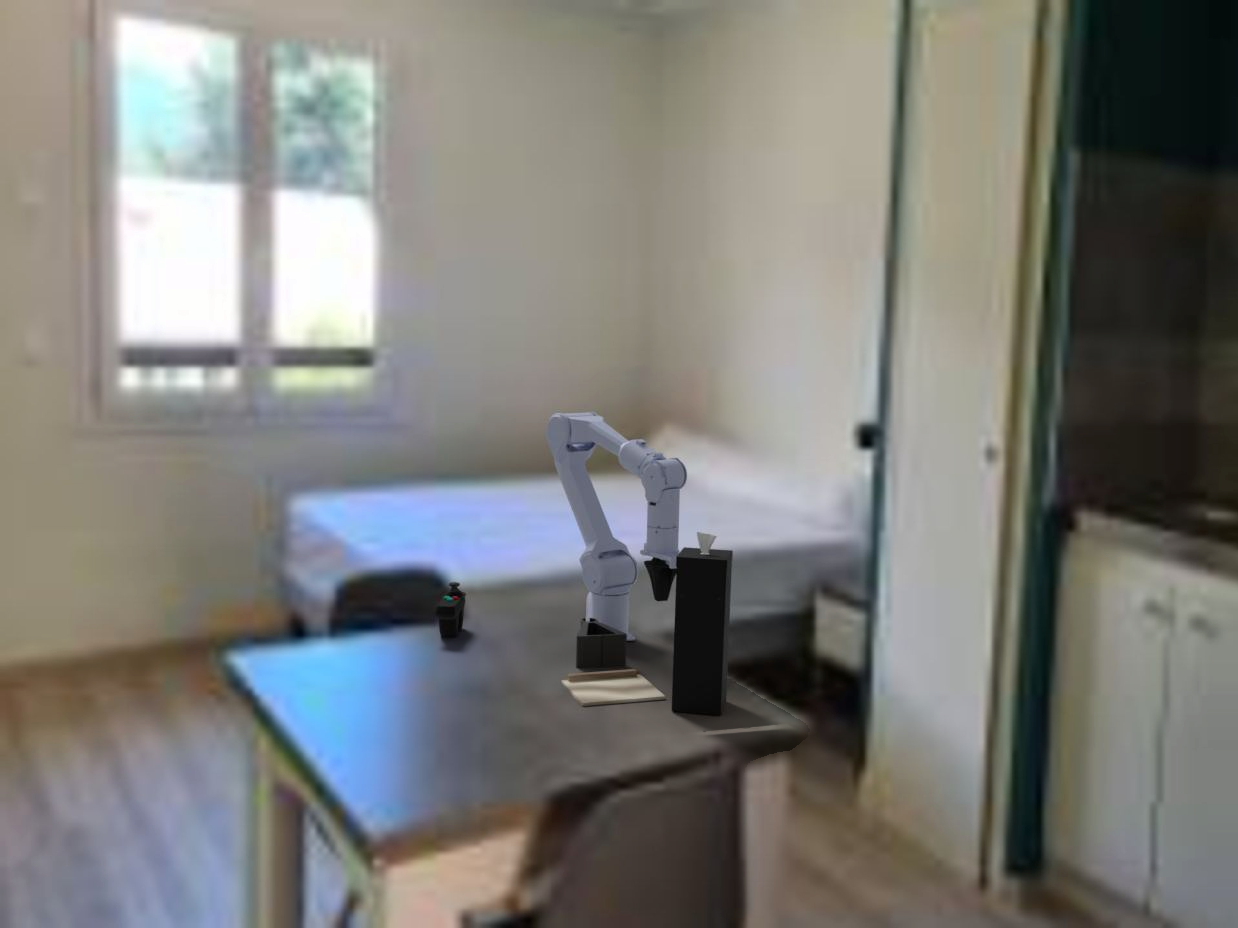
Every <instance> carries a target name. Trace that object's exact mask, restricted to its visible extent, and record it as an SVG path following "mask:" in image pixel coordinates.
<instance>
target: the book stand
mask: <svg viewBox="0 0 1238 928" xmlns="http://www.w3.org/2000/svg"><path fill="white" fill-rule="evenodd" d="M561 684H562V685H563V686H564V687H565V688H566V689H567V691H568V692H569V693H570V694H571V695H572V696H573V697H574V699H575V700H576V701H577V702H578V703H579V704H580V705H581V707H586V706H587V707H588V706H598V705H599V706H601V705H610V704H611V705H612V704H624V703H636V702H637V703H638V702H646V701H647V702H648V701H650V702H651V701H660V700H661V701H662V700H666V696H665V694H664V693H662V692H661V691H660V690H659V689H658V688H656V687H655V686H654V684H652V683H651V682H650V681H649V680H647V678H645V676H643V675H642V674H640V673H639V674H638V670H637V669H636V668H633V669H632V668H630V669H629V668H628V669H617V670H604V671H603V670H602V671H592V672H589V671H588V672H578V673H577V672H574V673H567V677H566V679H561Z"/></svg>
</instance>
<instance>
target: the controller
mask: <svg viewBox="0 0 1238 928" xmlns="http://www.w3.org/2000/svg"><path fill="white" fill-rule="evenodd" d="M460 585H461V583H459V582H455V581H453V582H449V583H448V586H449V587H450V589H448V590H447V591H446V592H445V593H443V595H442V596H441V597H440V598H441V600H440V601H439V602H438V604H437V605H436V608H435V611H434V615H435V616H436V617H438V628H439V634H440V636H441V637H442V638H457V637H459V636H460V634H461V632H462V631H463V625H464V616H465V615H464V611H465V606H466V596H467V593H466V592H463V591H461V589H459V588H458V587H460Z"/></svg>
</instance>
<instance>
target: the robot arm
mask: <svg viewBox="0 0 1238 928" xmlns="http://www.w3.org/2000/svg"><path fill="white" fill-rule="evenodd" d="M544 436H545V439H546V441H547V444H548V446H549V449H550V452H551V455H552V457H553V460H554V466H555V468H556V469H555V470H556V472H557V474H558V477H559V480H560V482H561V485H562V488H563V490H564V492H565V495H566V498H567V501H568V503H569V506H570V508H571V511H572V513H573V516H574V518H575V521H576V523H577V526H578V529H579V531H580V534H581V537H582V539H583V542H584V544H585V546H586V548H585V549H584V550H583V552H582V554H581V555H580V557H579V559H578V560H579V563H580V565H581V571H582V572H581V573H582V580H583V583H584V585H585V586H586V588H587V592H588V594H587V596H586V603H585V604H586V605H585V607H586V608H585V610H586V611H585V613H586V614H585V618H586V621H587V622H590V618H595V619H597V621H598V622H600V623H602V624H605V625H607V626H610V627H612V628H614V629H617V630H619V631H621V632H624V633H626V634H627V642H628V641H629V642H630V641H635V640H636V637H635V636H633V635H632V634H631V632H629V606H630V604H629V603H630V591H632V590H633V585H635V583H637V581H638V578H639V574H640V573H639V568H640V567H639V565H638V562H637V559H635V557H634V556H633V555H632V554H631V552H630V551H629V548H628V545H626V544H625V543H624V542H622V541H620V540H619V539H617V538H615V537H614V535H613V533H612V530H611V528H610V525H609V523H608V521H607V518H606V515H605V513H604V511H603V508H602V505H601V503H600V499H599V498H598V495H597V493H596V490H595V488H594V485H593V483H592V479H591V477H590V474H589V472H588V470H587V467H586V462H587V460H588V459H590V458H591V457H592V454H594V451H595V450H596V447H597V446H600V447H601V448H602V449H604V450H606V451H608V452H610V453H612V454H613V455H615V456H617V457H618V463H619V464H620V466H621V467H622V468H624V469H625V470H627V471H628V472H630V473H631V474H633V475H634V476H635V477H637V478H639V479H640V480H641V484H642V486H643V488H644V494H645V495H644V496H645V499H646V501H647V509H646V510H647V511H646V512H647V513H646V515H647V516H646V520H647V521H646V542H644V543H643V549H640V550H639V555H641V556H645V557H646V556H648V557H652V558H651V560H649V559H648V560H645V561H643V564H644V567H645V568H646V571H647V574H648V576H649V580H650V583H651V589H652V593H653V598H654V600H655V601H656V602H667V601H668V600H669V598H670V593H671V590H672V586H673V582H674V580H675V578H676V570H677V567H676V557H677V555H678V554H679V553H680V549H679V534H680V533H679V531H680V530H679V529H680V527H679V526H680V498H681V496H680V494H681V493H680V491H681V490H680V489H682V488H684V487H685V484H686V482H687V480H688V472H687V471H688V470H687V468H686V465H685V464H684V462H682V461H681V460H680V459H679V458H678V457H670V458H668V457H665V456H664V453H662V452H661V451H656V450H654V449H653V448H651V447H650V446H648V445H647V441H646V440H644V439H642V438H640V439H639V438H638V439H631V440H628V439H627V438H626V437H624V436H623V435H621V434H620V433H619V432H618V431H616V430H615V429H614V428H613V427H611V426H610V425H609V424H607V423H606V421H605V418H604V416H601V415H599V414H597V413H596V412H594V411H587V412H574V413H573V412H572V413H570V412H569V413H560V412H558V413H557V412H556V413H553V414H552V415H551V416H550V418H549V419H548V422H547V425H546V430H545V433H544Z"/></svg>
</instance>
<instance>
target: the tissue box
mask: <svg viewBox="0 0 1238 928" xmlns="http://www.w3.org/2000/svg"><path fill="white" fill-rule="evenodd" d="M696 537H697V540H698V541H697V542H698V546H699V548H698V547H683V548H682V549H681V551H679V554H678V555H677V557H676V567H677V570H676V575H675V578H676V579H675V600H674V602H675V604H674V607H675V608H674V632H673V662H672V664H673V665H672V691H671V711H672V712H678V713H679V712H680V713H691V714H699V715H710V716H711V715H712V716H722V713H723V711H724V708H725V705H726V701H727V692H728V688H727V687H728V669H729V668H728V665H729V642H730V621H731V620H730V615H731V614H730V613H731V593H732V590H731V589H732V588H731V587H732V569H733V568H732V567H733V564H732V563H733V553H734V550H732V549H730V550H729V549H728V550H727V549H715V548H714V549H713V548H711V547H712V545H713V544H714V542H715V541H716V538H717V535H714V534H710V533H703V532H701V531H700V532H699V531H696Z"/></svg>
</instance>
